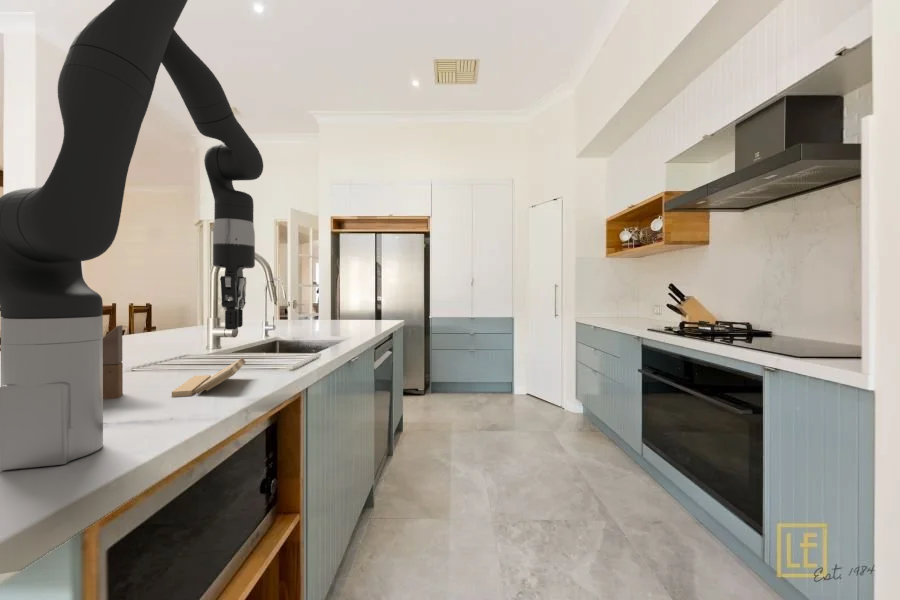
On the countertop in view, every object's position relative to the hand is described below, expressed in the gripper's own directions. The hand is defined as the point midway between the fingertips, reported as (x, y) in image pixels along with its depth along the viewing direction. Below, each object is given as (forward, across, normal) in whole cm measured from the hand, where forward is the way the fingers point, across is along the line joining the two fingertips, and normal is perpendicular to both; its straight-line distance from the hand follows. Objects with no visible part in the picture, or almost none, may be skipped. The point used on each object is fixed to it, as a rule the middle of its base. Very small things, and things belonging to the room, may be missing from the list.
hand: (234, 327), depth 84 cm
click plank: (+11, +4, +3) cm, 12 cm away
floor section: (+13, +4, +4) cm, 15 cm away
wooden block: (+14, -1, +24) cm, 28 cm away
